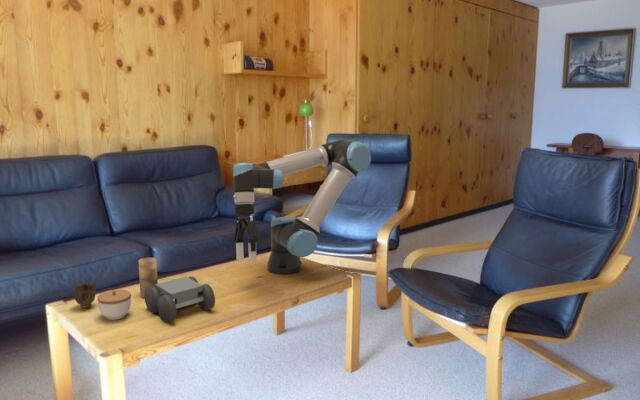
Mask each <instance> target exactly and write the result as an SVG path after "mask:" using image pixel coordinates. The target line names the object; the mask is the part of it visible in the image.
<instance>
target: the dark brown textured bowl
mask: <svg viewBox="0 0 640 400" xmlns="http://www.w3.org/2000/svg"><path fill="white" fill-rule="evenodd" d="M96 286H97V285H96V284H94V283H92V285H90V283H89V282H88V283H87V282H84V283H83V284H82V283H80V285H79V284H76V285H74V287H72V291H73V296H74V299H75V302H76V303H77V304H78V305H79V307H80V308H81V309H83V310H87V309H90V308H91V307H92V303H93V302H94V301H95V299H96Z"/></svg>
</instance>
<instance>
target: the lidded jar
mask: <svg viewBox="0 0 640 400" xmlns="http://www.w3.org/2000/svg"><path fill="white" fill-rule="evenodd" d="M96 298H97V303H98V304H97V305H98V309H99V312H100V314H102V316H103V317H105V319H106V320H110V321H116V320H117V321H118V320H121V319H124V317H126V314H128V312H129V311H130V308H131V304H132V293H131V292H130V290H127V289H120V288H119V289H118V288H117V289H110V290H106V291H104V292H101V293H100V294H98V295H97V297H96Z"/></svg>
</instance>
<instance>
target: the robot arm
mask: <svg viewBox="0 0 640 400" xmlns="http://www.w3.org/2000/svg"><path fill="white" fill-rule="evenodd" d="M371 162H372V154H371V150H370V149H369V147H368V146H367V145H366V144H364V143H362V142H360V141H352V140H348V139H337V140H334V141H329V142H328V143H324V144H320V145H318V146H317V147H316V148H315V149H314V148H313V149H310V150H306V151H303V152H300V153H295V154H290V155H287V156H284V157H280V158H276V159H272V160H269V161H264V162H261V163H251V162H238V163H236V164H234V165H233V171H232V173H233V175H232V176H233V177H232V178H233V193H234V195H232V197H233V198H234V199H233V201H234V204H235V205H234V214H235V215H237V216H238V217H235V224H234V225H235V226H234V233H233V241H234V242H235V252H236V253H235V254H236V256H235V257H236V261H239V260H240V261H241V260H244V259H245V257H244V256H245V255H244V254H245V253H244V243H245V241H244V236H245V234H246V235H247V238H248V241H247V243H248V245H247V247H248V261H249V262H251V261H252V262H253V261H257V260H258V259H257V242H258V241H259V235H258V234H259V233H258V231H257V225H256V221H255V212H256V209H255V204H254V203H255V189H268V190H269V189H270V190H271V189H273V190H274V189H275V190H276V189H281V188H282V186H283V185H284V181H285V179H284V177H285V176H288V175H290V174H295V173H299V172H302V171H307V170H309V169H314V168H317V167H320V166H321V167H324V168H325V167H330V166H332V168H331V171H330V172H329V173H328V174H327V177H326V178H325V180H324V181H323V183H322V184H321V186H320V187H319V189H318V190H317V192H316V194H315V195H314V197H312V200H311V201H310V202H309V205H308V206H307V207H306V209H305V211H304V212H303V214H302V215H301V216H298V217H295V216H278V217H274V218H273V219H271V221H270V238H271V239H270V255H269V258H268V261H267V264H266V265H267V267H266V269H267V271H268V272H270V273H273V274H278V275H290V274H295V273H298V272H300V271H301V270H302V268H303V265H302V260H301V258H305V257H309V256H310V255H312V254H313V253H314V252H315V251H316V249H317V247H318V237H319V235H320V234H321V230H320V227H321V225H322V224H323V222H324V221H325V219H326V217H327V216H328V214H329V213H330V211H331V210H332V208H333V207H334V205H335V203H336V202H337V200H338V198H339V197H340V196H341V194H342V192H343V191H344V189H346V187H347V184H348V183H349V181H351V180H353V179H356V178H357V176H358V174H359V173H361V172H363V171H365V170H367V169H368V168H369V166H370V164H371Z"/></svg>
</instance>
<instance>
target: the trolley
mask: <svg viewBox="0 0 640 400" xmlns="http://www.w3.org/2000/svg"><path fill="white" fill-rule="evenodd" d="M143 299H144V303H145V306H146V308H147V310H148V311H149V312H150V313H151V314H154V313H158V314H159V317H160V319H161V320H162V322H164V323H169V322H172V321H174V320H176V319H177V314H178V313H177V312H178V311H177V309H180V308H183V307H188V306H191V305H194V304H197V305H198V307H199V308H200V309H201V310H202V311H208V310H211V309H213V308H214V307H215V304H216V297H215V294H214V290H213V288H212V287H211V286H210V284H208V283H205V284H204V283H203V284H201V283H199V282H198V280H197V278H195V277H194V276H189V277H188V276H182V277H179V278H175V279H170V280H166V281H162V282H159V283H158V284H155V286H152V287H148V288H146V289H145V293H144V298H143Z"/></svg>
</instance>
